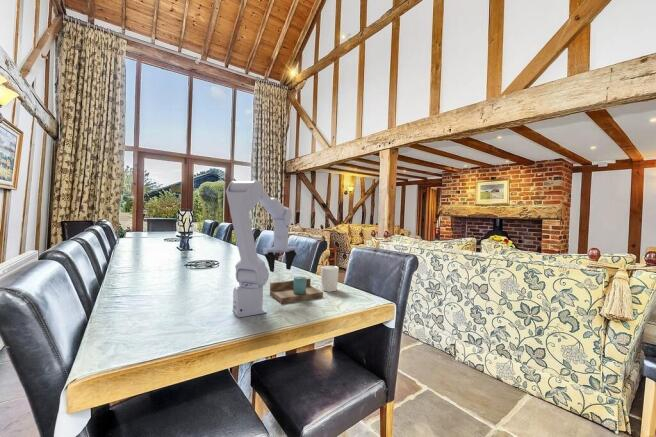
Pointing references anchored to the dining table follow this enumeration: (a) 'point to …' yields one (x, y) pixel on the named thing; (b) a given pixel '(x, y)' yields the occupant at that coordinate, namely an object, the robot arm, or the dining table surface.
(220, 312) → the dining table surface
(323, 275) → the white cup
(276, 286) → the walnut shelf
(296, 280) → the teal round canister
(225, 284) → the dining table surface
